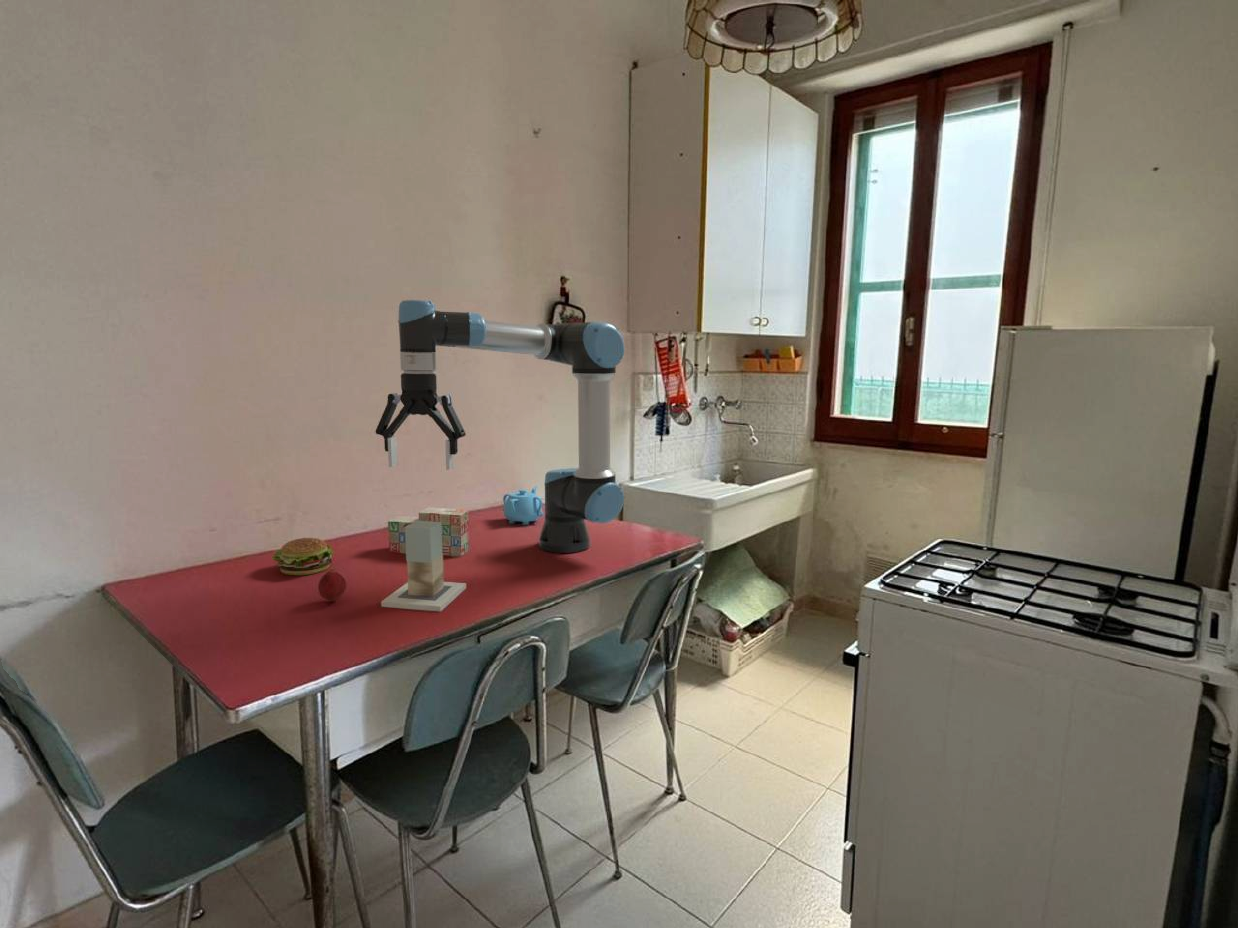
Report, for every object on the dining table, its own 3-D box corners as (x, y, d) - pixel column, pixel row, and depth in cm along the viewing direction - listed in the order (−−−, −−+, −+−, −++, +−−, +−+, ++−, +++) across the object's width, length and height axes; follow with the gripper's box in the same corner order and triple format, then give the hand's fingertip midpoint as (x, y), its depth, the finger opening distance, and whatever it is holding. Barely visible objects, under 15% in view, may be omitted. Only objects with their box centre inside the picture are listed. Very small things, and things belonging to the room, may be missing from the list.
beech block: (443, 587, 159) (442, 555, 157) (433, 596, 153) (432, 563, 152) (419, 585, 160) (418, 553, 158) (408, 594, 154) (407, 561, 152)
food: (264, 569, 173) (262, 539, 172) (319, 557, 184) (317, 529, 182) (286, 582, 164) (283, 551, 163) (342, 569, 174) (340, 540, 173)
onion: (329, 608, 148) (327, 574, 147) (313, 603, 151) (311, 569, 150) (352, 600, 153) (350, 567, 152) (336, 595, 156) (334, 562, 155)
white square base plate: (466, 588, 163) (466, 582, 162) (440, 611, 148) (440, 605, 148) (411, 583, 165) (411, 578, 164) (381, 606, 150) (381, 600, 150)
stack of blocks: (388, 553, 189) (386, 510, 187) (398, 546, 195) (397, 505, 193) (461, 557, 187) (460, 514, 184) (469, 550, 193) (468, 509, 191)
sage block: (442, 555, 157) (441, 522, 156) (431, 563, 151) (430, 528, 150) (418, 553, 158) (417, 520, 157) (406, 561, 152) (405, 527, 151)
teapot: (506, 529, 218) (507, 495, 215) (500, 516, 231) (500, 484, 229) (545, 526, 222) (545, 494, 220) (536, 514, 235) (536, 483, 233)
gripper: (356, 371, 146) (361, 467, 149) (466, 374, 142) (468, 472, 146) (374, 370, 153) (378, 462, 157) (478, 373, 149) (480, 467, 153)
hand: (421, 467), depth 151 cm, fingers open, 13 cm apart
